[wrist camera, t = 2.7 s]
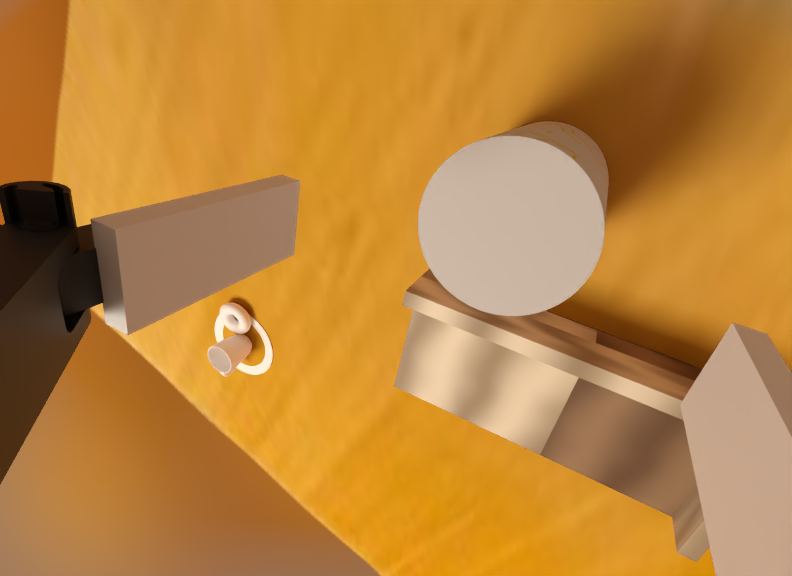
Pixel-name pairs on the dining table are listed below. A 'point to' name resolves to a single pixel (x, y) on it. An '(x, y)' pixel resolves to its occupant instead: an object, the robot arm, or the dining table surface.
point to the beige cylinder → (517, 218)
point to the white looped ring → (237, 342)
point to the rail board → (561, 397)
